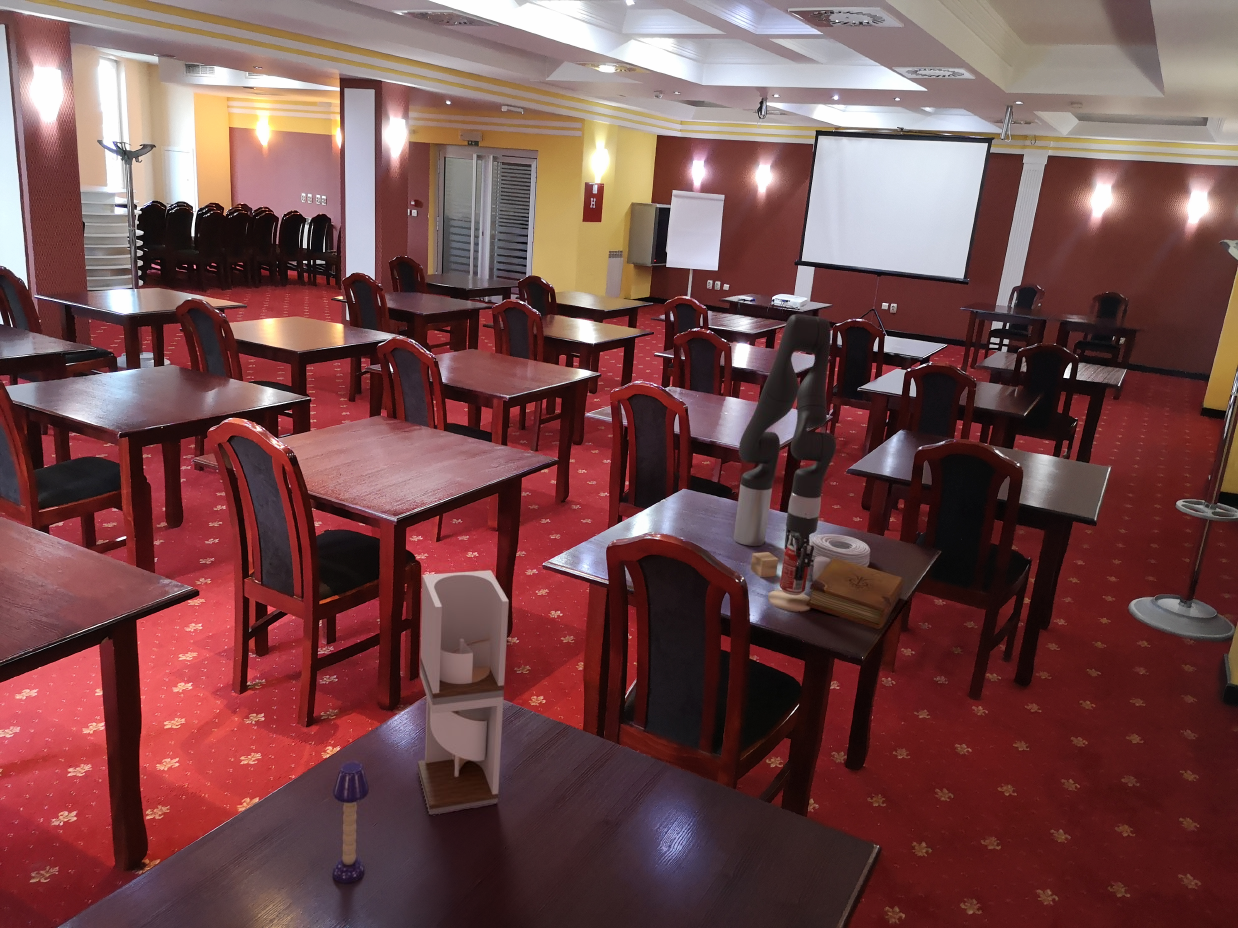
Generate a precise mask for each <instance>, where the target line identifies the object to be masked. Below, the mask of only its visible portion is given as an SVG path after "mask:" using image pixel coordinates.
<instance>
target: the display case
mask: <svg viewBox="0 0 1238 928" xmlns="http://www.w3.org/2000/svg"><path fill="white" fill-rule="evenodd" d="M421 588H422V589H421V590H422V591H421V593H422V594H421V595H422V596H421V621H420V622H421V625H420V627H421V630H420V631H421V633H420V664H419V665H420V666H419V670H420V671H419V676H420V679H421V682H422V683H421V684H422V686H423V689H424V692H425V695H426V716H425V717H426V718H425V720H426V721H425V747H424V748H425V749H424V750H425V753H424V759H423V760H422V759H421V760H417V773H418V772H419V775H418V777H419V776H420V779H419V781H420V780H421V783H420V785H421V784H422V786H421V789H422V788H423V790H422V792H423V791H424V794H423V796H424V795H425V798H424V800H425V799H426V802H425V804H426V803H427V805H426V808H427V807H428V809H427V812H428V811H429V813H428V815H429V814H434V813H438V812H443V811H448V810H454V809H460V808H465V807H470V806H476V805H482V804H487V803H496V802H499V787H500V786H499V785H500V783H499V782H500V767H501V765H500V764H501V750H502V749H501V747H502V733H503V732H502V730H503V729H502V728H503V712H504V711H503V710H504V696H505V695H504V694H505V693H504V692H505V674H506V673H505V672H506V657H507V656H506V654H507V641H508V639H507V637H508V620H509V617H508V616H509V602H510V601H509V599H508V598H507V596H506V594H505V592H504V590H503V589H502V587H501V586H500V584H499V581H498V580H497V578H496V577H495V575H494V573H493V572H492V570H476V571H465V572H463V571H462V572H460V571H459V572H449V573H434V574H422V587H421Z"/></svg>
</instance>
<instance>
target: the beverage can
mask: <svg viewBox="0 0 1238 928" xmlns="http://www.w3.org/2000/svg"><path fill="white" fill-rule="evenodd" d="M801 552H802V551H798V553H799V554H801ZM807 560H808V559H807ZM803 562H804V561H803ZM795 568H796V557H795V556H794V547H793V546H792V545H790V544H789V545H788V547H787V548H786V549H785V548H784V554H783V562H782V567H781V575H780V580H779V581H780V582H779V587H780V590H782V591H783V592H784V593H786V594H789V595H800V594H801V593H802V594H804V592H805V591H806V589H807V588H806V586H807V582H808V581H807V580H808V574H809V568H810V567H805V572H804V579H803V580H802V581H796V580H795V579H794V575H795Z"/></svg>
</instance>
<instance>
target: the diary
mask: <svg viewBox="0 0 1238 928" xmlns="http://www.w3.org/2000/svg"><path fill="white" fill-rule="evenodd" d="M904 584H905V579H904V578H903V577H901V576H899V575H895V574H891V573H887V572H885V571H881V570H877V569H874V568H871V567H868V566H867V567H864V566H861V565H858V564H854V563H851V562H848V561H844V560H841V559H838V558H834V559H833V560H832V561H831V563H830V564H829V565H828V566H827V567H826V568H825V569H824V571H823V572H822V573H821V574H820V575H819V576H818V577H817V579H816V580H815V581H813V582H812V583H811V584H810V586H809V589H810V590H812V591H811V596H810V597H809V598H810V599H809V601H808V602H807V605H806V606H808V607H811V609H815V610H819V611H821V612H825V613H827V614H830V615H833V616H836V617H839V618H843V619H846V620H848V621H852V622H856V623H858V624H861V625H865V626H868V627H871V628H874V629H877V630H880V629H882V627H884V624H885V623H886V622H887V619H888V618H889V617H890V615H891V613H892V612H893V609H894V607H896V604H897V603H898V601H899V599H900V598H901V596H902V593H903V589H904Z"/></svg>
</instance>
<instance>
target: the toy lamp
mask: <svg viewBox="0 0 1238 928" xmlns="http://www.w3.org/2000/svg"><path fill="white" fill-rule="evenodd" d="M368 783H369V782H368V779H367V776H366V772H365V769H364V766H363V765H362V763H360V762H357V761H348V762H345V763H343V764H342V765H341V766H340V767H339V771H338V773H337V777H336V780H335V782H334V786H333V788H332V789H333V790H332V795H333V797H334V799H335V800H337V801H338V802H341V803H343V807H342V809H343V811H342V812H343V816H342V821H343V825H342V832H343V835H342V842H343V844H342V858H340V859H339V860H338V861H337V862H336V864H335V865H334V867H333V870H332V877H333V879H334V880H336V881H337V882H339V883H342V884H343V883H344V884H348V883H353V882H355V881H358V880H360V879H361V878H362V877H363V876H364V874H365V865H364V863H363V861H362V859H360V858H359V857H357V854H356V849H357V843H356V840H357V832H356V831H357V823H356V821H357V819H358V818H357V817H358V816H357V813H356V812H357V809H358V806H357V802H360V801H362V800H364V799H365V798H366V797H367V796H368V794H369V792H370V791H369V790H370V787H369V784H368Z"/></svg>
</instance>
